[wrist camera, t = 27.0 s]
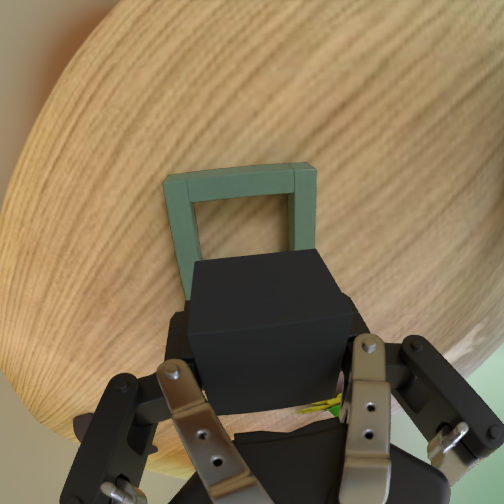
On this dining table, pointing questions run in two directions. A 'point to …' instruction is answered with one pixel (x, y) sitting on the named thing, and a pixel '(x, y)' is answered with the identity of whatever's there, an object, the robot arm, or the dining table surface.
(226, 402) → the black block
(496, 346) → the dining table surface
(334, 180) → the dining table surface
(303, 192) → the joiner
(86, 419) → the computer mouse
